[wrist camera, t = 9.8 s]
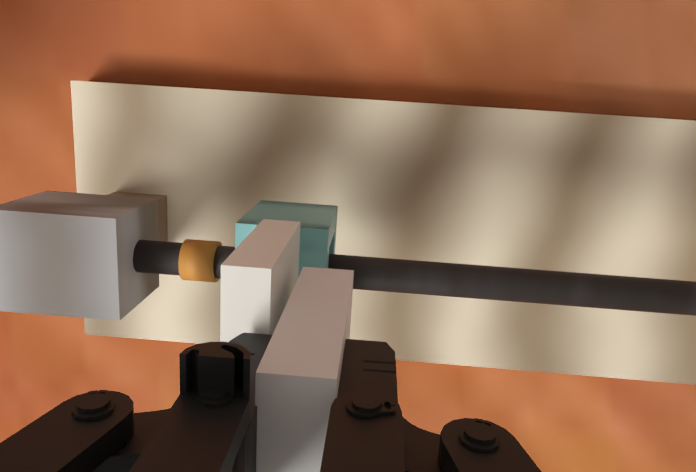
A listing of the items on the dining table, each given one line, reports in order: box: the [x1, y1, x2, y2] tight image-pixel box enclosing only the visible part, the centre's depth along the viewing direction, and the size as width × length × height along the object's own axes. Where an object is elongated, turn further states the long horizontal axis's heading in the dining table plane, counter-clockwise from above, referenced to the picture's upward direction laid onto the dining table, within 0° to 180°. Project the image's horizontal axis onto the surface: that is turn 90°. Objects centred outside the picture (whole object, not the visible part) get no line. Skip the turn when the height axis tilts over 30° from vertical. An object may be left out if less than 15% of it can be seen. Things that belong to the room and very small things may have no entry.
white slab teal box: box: [220, 200, 338, 342], centre depth 18 cm, size 3×4×9 cm
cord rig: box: [0, 80, 696, 385], centre depth 23 cm, size 32×12×9 cm, turn 87°
